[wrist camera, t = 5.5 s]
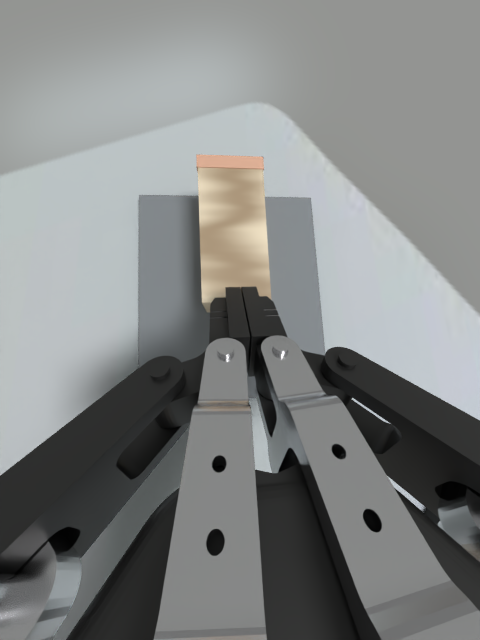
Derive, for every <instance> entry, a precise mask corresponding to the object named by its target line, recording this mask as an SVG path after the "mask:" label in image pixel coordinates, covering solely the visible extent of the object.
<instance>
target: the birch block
mask: <svg viewBox="0 0 480 640" xmlns="http://www.w3.org/2000/svg"><path fill="white" fill-rule="evenodd" d="M263 170H264V164H263V157H252V156H223V155H197V171H198V190H199V223H200V256H201V288H202V304H203V306H204V308H205V309H206V311H207V312H210V304H211V302H212V301H213V300H214V298H222V297H225V287H240V288H241V287H251V286H256V287H257V290H258V293H259V296H267V297H269V298H270V299H271V286H270V271H269V255H268V240H267V225H266V209H265V194H264V179H263Z"/></svg>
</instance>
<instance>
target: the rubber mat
mask: <svg viewBox="0 0 480 640" xmlns="http://www.w3.org/2000/svg"><path fill="white" fill-rule="evenodd" d="M265 209H266V225H267V240H268V255H269V271H270V286H271V300H272V301H273V302H274V304H275V307H276V310H277V312H278V314H279V317H280V319H281V322H282V324H283V327H284V329H285V332H286V334H287V337H288V338H290V339H292V340H293V341H295V342H296V343H297V344H298V346H299V348H300V349H301V350H303V351H306V352H310V353H315V354H320V355H325V346H324V335H323V324H322V314H321V303H320V292H319V281H318V270H317V259H316V249H315V238H314V227H313V216H312V205H311V198H297V197H265ZM209 332H210V312H207V311H206V309H205V308H204V306H203V304H202V288H201V256H200V223H199V196H170V195H139V368H140V367H141V366H142V365H144V364H145V363H146V362H148V361H149V360H151V359H153V358H156V357H159V356H173V357H175V358H177V359H179V360H180V361H181V362H184V361H187V360H191V359H193V358H196V357H198V356H200V355H201V354H202V353H203V352H205V350H206V348H207V347H208V345H209ZM247 383H248V398H256V393H255V389H256V380H255V376H252V377H248V370H247Z"/></svg>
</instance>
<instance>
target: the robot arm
mask: <svg viewBox="0 0 480 640" xmlns="http://www.w3.org/2000/svg"><path fill="white" fill-rule="evenodd" d="M247 370H248V377H252V376H255V380H256V389H255V393H256V398H257V402H258V406H259V410H260V414H261V417H262V421H263V425H264V429H265V433H266V437H267V442H268V454H269V461H270V466H271V470H272V473H269V472H264V471H259V470H255V462H254V447H253V432H252V417H251V407H250V404H249V400H248V383H247ZM352 397H353V398H354V399H356V400H357V401H359V402H360V403H362V404H363V405H364V406H366V407H367V408H369V409H370V410H372V411H373V412H375V413H376V414H378V415H379V416H381V417H382V418H384V419H385V420H386V421H388V422H389V423H391V424H389V423H386V422H384V421H382V420H380V419H379V418H378V417H376V416H375V415H373V414H372V413H370V412H369V411H367V410H366V409H364V408H363V407H362V406H360V405H359V404H357V403H356V402H354V401H353V400H351V399H352ZM189 425H190V428H189V435H188V441H187V447H186V453H185V459H184V465H183V471H182V477H181V483H180V488H179V489H177V490H176V491H175V492H174V493H172V494H171V495H170V496H169V497H168V498H167V499H166V500H164V501H163V502H162V503H161V504H160V505H159V507H158V508H157V509H156V510H155V511H154V513H153V514H152V515H151V516H150V518H149V519H148V520H147V522H146V523H145V524H144V526H143V527H142V529H141V530H140V532H139V533H138V535H137V536H136V538H135V539H134V541H133V542H132V544H131V545H130V547H129V548H128V549H127V551H126V552H125V554H124V555H123V557H122V558H121V560H120V561H119V563H118V564H117V566H116V567H115V569H114V570H113V572H112V573H111V575H110V576H109V577H108V579H107V580H106V582H105V583H104V585H103V586H102V588H101V589H100V591H99V592H98V594H97V595H96V597H95V598H94V600H93V601H92V602H91V604H90V605H89V607H88V608H87V610H86V611H85V613H84V614H83V616H82V617H81V619H80V620H79V622H78V623H77V625H76V626H75V627H74V629H73V630H72V632H71V633H70V635H69V636H68V638H67V639H66V640H480V421H479V420H478V419H476V418H474V417H472V416H470V415H469V414H467V413H465V412H463V411H461V410H460V409H458V408H456V407H454V406H452V405H451V404H449V403H447V402H445V401H443V400H441V399H440V398H438V397H436V396H434V395H432V394H431V393H429V392H427V391H425V390H423V389H422V388H420V387H418V386H416V385H414V384H413V383H411V382H409V381H407V380H405V379H404V378H402V377H400V376H398V375H396V374H394V373H393V372H391V371H389V370H387V369H385V368H384V367H382V366H380V365H378V364H376V363H375V362H373V361H371V360H369V359H367V358H366V357H364V356H362V355H360V354H358V353H357V352H355V351H353V350H350V349H348V348H343V347H334V348H331V349H329V350H328V351H327V352H326V354H325V355H320V354H315V353H310V352H306V351H303V350H301V349H300V348H299V346H298V344H297V343H296V342H295V341H293V340H292V339H290V338H288V337H287V334H286V332H285V329H284V327H283V324H282V322H281V319H280V317H279V314H278V312H277V310H276V307H275V304H274V302H273V301H272V300H271V299H270V298H269V297H267V296H259V293H258V290H257V287H256V286H251V287H241V288H240V287H225V297H222V298H214V300H213V301H212V302H211V304H210V332H209V345H208V347H207V348H206V350H205V352H203V353H202V354H201V355H200V356H198V357H196V358H193V359H191V360H187V361H184V362H181V361H180V360H179V359H177V358H175V357H173V356H159V357H156V358H153V359H151V360H149V361H148V362H146V363H145V364H144V365H142V366H141V367H140V368H138V369H137V370H136V371H135V372H133V373H132V374H131V375H129V376H128V377H127V378H126V379H124V380H123V381H122V382H120V383H119V384H118V385H117V386H115V387H114V388H113V389H111V390H110V391H109V392H108V393H106V394H105V395H104V396H102V397H101V398H100V399H99V400H97V401H96V402H95V403H93V404H92V405H91V406H89V407H88V408H87V409H86V410H84V411H83V412H82V413H80V414H79V415H78V416H77V417H75V418H74V419H73V420H71V421H70V422H69V423H68V424H66V425H65V426H64V427H62V428H61V429H60V430H59V431H57V432H56V433H55V434H53V435H52V436H51V437H50V438H48V439H47V440H46V441H44V442H43V443H42V444H41V445H39V446H38V447H37V448H35V449H34V450H33V451H32V452H30V453H29V454H28V455H26V456H25V457H24V458H23V459H21V460H20V461H19V462H17V463H16V464H15V465H14V466H12V467H11V468H10V469H8V470H7V471H6V472H5V473H3V474H2V475H1V476H0V640H52V639H53V637H54V635H55V634H56V632H57V631H58V629H59V627H60V626H61V624H62V623H63V621H64V619H65V618H66V616H67V615H68V613H69V611H70V609H71V607H72V605H73V603H74V600H75V598H76V595H77V592H78V589H79V586H80V581H81V574H82V563H81V557H82V556H83V555H84V554H85V552H86V551H87V550H88V549H89V548H90V546H91V545H92V544H93V543H94V541H95V540H96V539H97V538H98V537H99V535H100V534H101V533H102V532H103V530H104V529H105V528H106V527H107V526H108V524H109V523H110V522H111V521H112V519H113V518H114V517H115V516H116V515H117V513H118V512H119V511H120V510H121V508H122V507H123V506H124V505H125V504H126V502H127V501H128V500H129V499H130V497H131V496H132V495H133V494H134V493H135V491H136V490H137V489H138V488H139V486H140V485H141V484H142V483H143V481H144V480H145V479H146V478H147V477H148V475H149V474H150V473H151V472H152V470H153V469H154V468H155V467H156V466H157V464H158V463H159V462H160V461H161V459H162V458H163V457H164V456H165V455H166V453H167V452H168V451H169V450H170V448H171V447H172V446H173V445H174V444H175V442H176V441H177V440H178V439H179V437H180V436H181V435H182V434H183V433H184V431H185V430H186V429H187V428H188V426H189ZM387 476H388V477H390V478H391V479H392V480H393V481H394V482H396V483H397V484H398V485H399V486H401V487H402V488H403V489H404V490H406V491H407V492H408V493H409V494H410V495H412V496H413V497H414V498H415V499H417V500H418V501H419V502H420V503H421V504H423V505H424V506H425V507H426V508H428V509H429V510H430V511H431V512H432V513H434V514H435V515H436V516H437V517H439V518H440V521H439V523H438V525H437V524H436V523H435V522H433V521H432V520H431V519H430V518H429V517H428V516H426V515H425V514H424V513H423V512H422V511H421V510H420V509H418V508H417V507H416V506H415V505H414V504H413V503H412V502H410V501H409V500H408V499H407V498H406V497H405V496H404V495H402V494H401V493H400V492H399V491H398V490H396V489H395V488H394V487H393V485H392V484H391V482H390V480H389V479H388V477H387Z"/></svg>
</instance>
